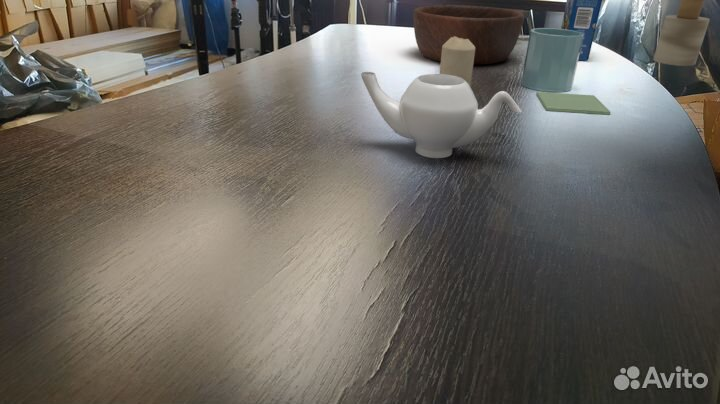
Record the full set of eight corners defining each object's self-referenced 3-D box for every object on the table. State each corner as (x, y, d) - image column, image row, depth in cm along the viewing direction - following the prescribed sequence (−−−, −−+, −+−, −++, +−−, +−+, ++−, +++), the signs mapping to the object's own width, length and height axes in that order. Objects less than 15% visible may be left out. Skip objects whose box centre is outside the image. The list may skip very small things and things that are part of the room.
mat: (593, 98, 89) (594, 95, 89) (610, 114, 81) (610, 111, 80) (536, 94, 90) (536, 91, 90) (546, 110, 82) (546, 107, 81)
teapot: (512, 176, 58) (527, 98, 54) (349, 154, 63) (350, 80, 58) (514, 147, 66) (526, 78, 62) (369, 130, 71) (371, 64, 67)
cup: (565, 81, 100) (576, 29, 95) (576, 93, 92) (589, 37, 87) (518, 78, 101) (527, 27, 96) (525, 90, 93) (535, 34, 88)
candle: (475, 97, 88) (483, 38, 83) (455, 102, 84) (462, 41, 80) (451, 90, 91) (457, 33, 87) (431, 95, 88) (436, 36, 83)
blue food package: (581, 52, 128) (605, -58, 117) (588, 61, 118) (616, -58, 106) (555, 50, 130) (577, -58, 118) (560, 59, 119) (585, -59, 108)
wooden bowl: (508, 49, 129) (514, 6, 124) (526, 71, 107) (535, 20, 102) (411, 45, 131) (414, 3, 126) (409, 65, 109) (413, 16, 104)
